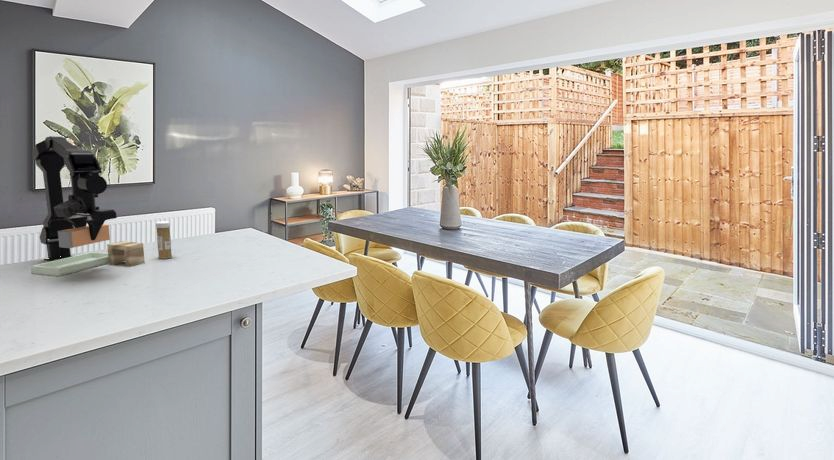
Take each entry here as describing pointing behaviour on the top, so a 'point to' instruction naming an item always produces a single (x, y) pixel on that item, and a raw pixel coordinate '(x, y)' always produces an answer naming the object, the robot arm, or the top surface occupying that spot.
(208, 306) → the top surface
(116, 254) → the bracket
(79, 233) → the orange rectangular block
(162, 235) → the sprinkles bottle
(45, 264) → the tray
